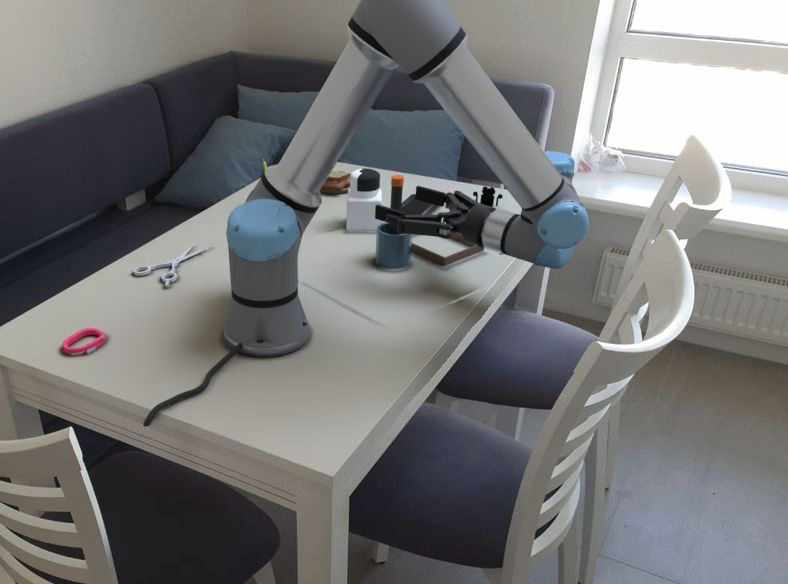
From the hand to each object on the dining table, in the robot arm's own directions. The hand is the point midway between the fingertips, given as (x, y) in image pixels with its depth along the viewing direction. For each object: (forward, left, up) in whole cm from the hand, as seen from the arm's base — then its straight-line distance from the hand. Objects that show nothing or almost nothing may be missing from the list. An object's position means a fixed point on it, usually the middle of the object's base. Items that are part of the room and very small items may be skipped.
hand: (396, 201), depth 160 cm
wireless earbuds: (+40, +9, -14) cm, 43 cm away
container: (+9, +19, -14) cm, 25 cm away
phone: (+25, +18, -14) cm, 34 cm away
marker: (0, 0, -13) cm, 13 cm away
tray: (+12, 0, -14) cm, 19 cm away
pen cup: (0, 0, -14) cm, 14 cm away
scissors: (-35, +29, -14) cm, 48 cm away
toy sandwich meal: (+21, +43, -14) cm, 50 cm away
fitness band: (-65, +11, -14) cm, 67 cm away
